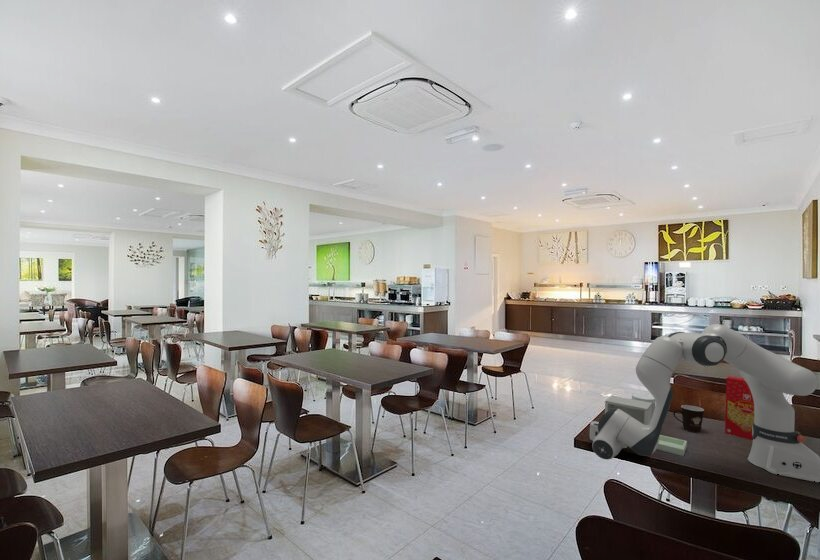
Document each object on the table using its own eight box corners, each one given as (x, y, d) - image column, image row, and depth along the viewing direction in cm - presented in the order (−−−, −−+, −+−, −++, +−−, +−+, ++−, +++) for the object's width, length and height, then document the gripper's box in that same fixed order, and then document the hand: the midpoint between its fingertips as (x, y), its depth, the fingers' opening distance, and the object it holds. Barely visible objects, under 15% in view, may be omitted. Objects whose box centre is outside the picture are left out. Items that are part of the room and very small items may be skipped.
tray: (686, 447, 164) (686, 440, 164) (683, 456, 155) (683, 449, 155) (653, 439, 172) (654, 433, 172) (649, 447, 163) (649, 441, 163)
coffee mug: (702, 429, 185) (703, 407, 185) (704, 435, 178) (704, 412, 178) (672, 423, 192) (673, 402, 192) (672, 429, 184) (673, 407, 184)
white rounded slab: (636, 422, 192) (636, 392, 192) (658, 428, 184) (659, 396, 184) (627, 427, 186) (628, 395, 186) (649, 433, 178) (650, 400, 178)
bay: (651, 437, 173) (652, 402, 173) (646, 445, 165) (647, 408, 165) (610, 428, 183) (611, 395, 183) (604, 435, 175) (605, 400, 175)
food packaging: (725, 433, 181) (726, 377, 181) (727, 430, 184) (729, 376, 184) (768, 444, 170) (770, 384, 169) (770, 441, 173) (772, 382, 173)
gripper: (644, 436, 148) (651, 426, 159) (586, 422, 162) (596, 414, 172) (644, 453, 148) (650, 442, 159) (585, 438, 162) (595, 429, 172)
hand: (621, 427), depth 166 cm, fingers closed on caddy, 5 cm apart
